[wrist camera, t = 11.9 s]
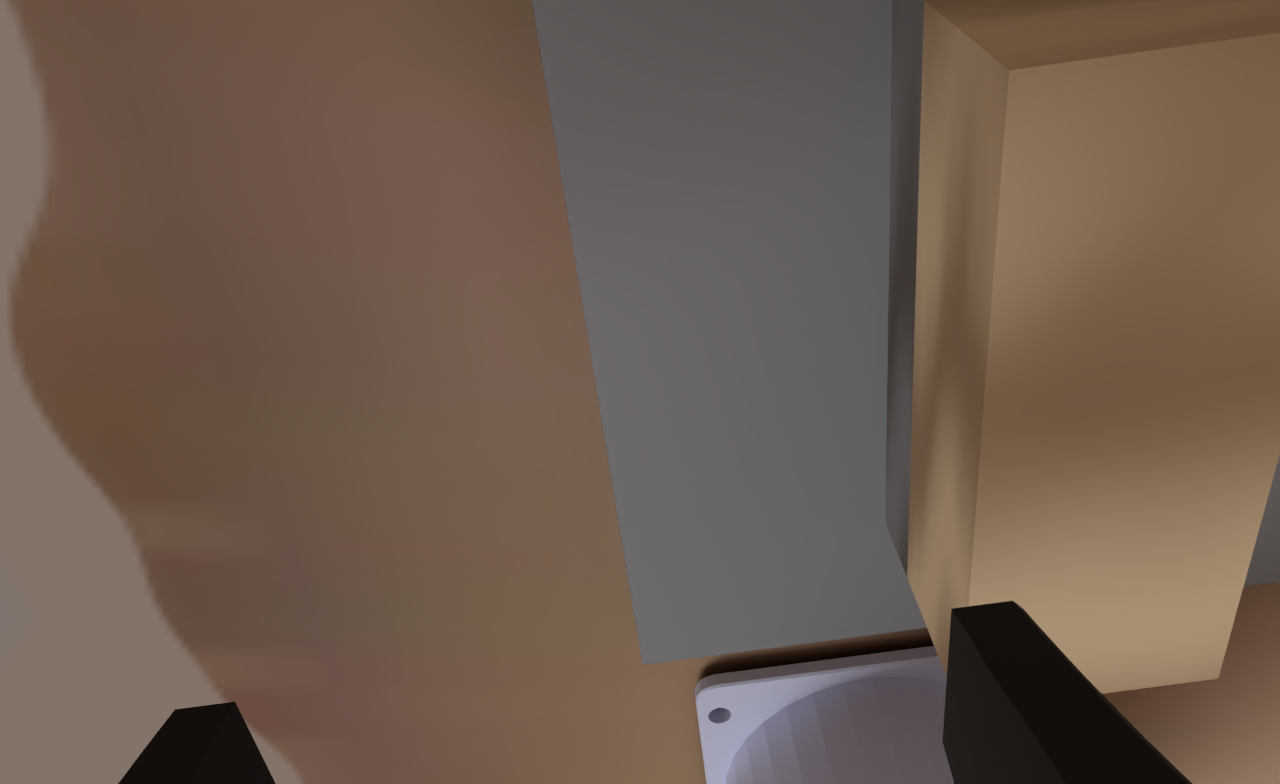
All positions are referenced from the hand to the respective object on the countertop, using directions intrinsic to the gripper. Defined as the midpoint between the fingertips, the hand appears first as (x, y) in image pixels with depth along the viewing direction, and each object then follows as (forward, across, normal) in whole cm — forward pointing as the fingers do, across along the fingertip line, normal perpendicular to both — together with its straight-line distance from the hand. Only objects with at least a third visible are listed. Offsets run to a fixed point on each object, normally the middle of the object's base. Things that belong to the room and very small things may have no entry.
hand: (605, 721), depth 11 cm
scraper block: (+8, -7, 0) cm, 11 cm away
